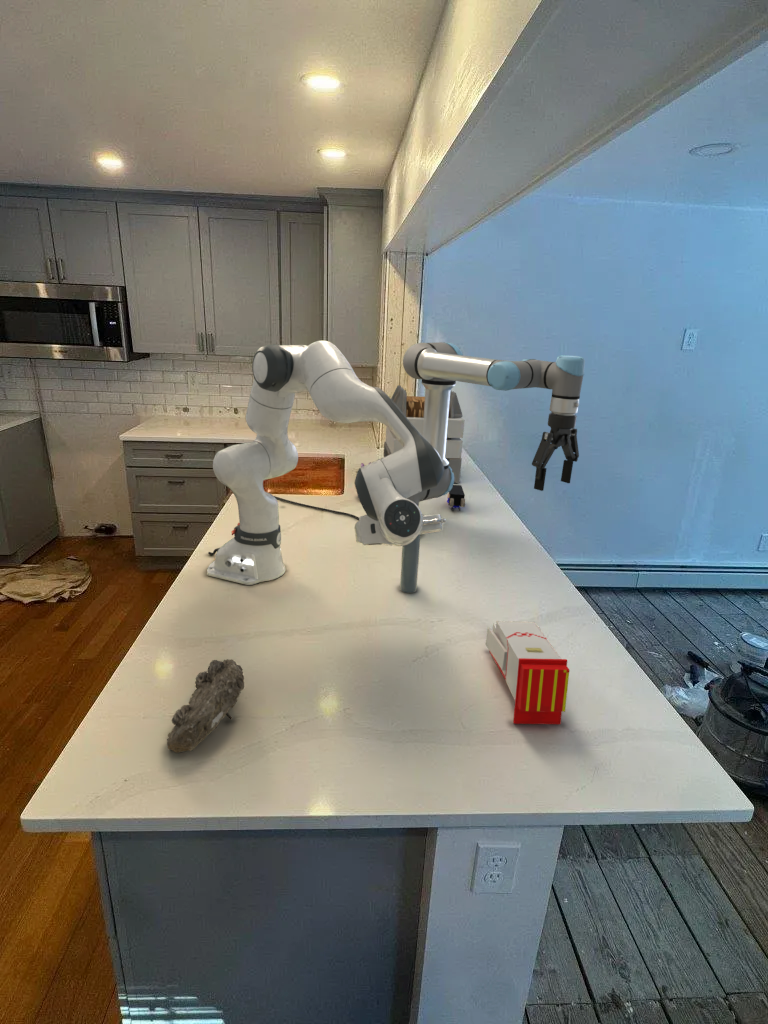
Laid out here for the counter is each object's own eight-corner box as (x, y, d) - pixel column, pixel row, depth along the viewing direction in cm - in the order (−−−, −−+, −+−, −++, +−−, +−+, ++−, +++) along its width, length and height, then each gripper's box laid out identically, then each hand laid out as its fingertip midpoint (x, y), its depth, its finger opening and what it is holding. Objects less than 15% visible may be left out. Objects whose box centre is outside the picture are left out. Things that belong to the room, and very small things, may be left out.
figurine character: (465, 515, 224) (460, 499, 237) (467, 498, 221) (462, 483, 234) (448, 515, 224) (444, 499, 237) (450, 498, 220) (445, 482, 234)
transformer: (382, 463, 289) (386, 382, 275) (445, 464, 293) (451, 384, 279) (390, 482, 257) (394, 392, 243) (460, 483, 261) (468, 394, 247)
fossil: (192, 660, 117) (244, 628, 112) (224, 691, 120) (276, 661, 115) (142, 746, 98) (202, 712, 93) (182, 779, 101) (242, 748, 96)
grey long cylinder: (397, 586, 162) (400, 524, 156) (412, 584, 164) (416, 522, 157) (404, 594, 158) (408, 530, 151) (419, 591, 160) (424, 528, 153)
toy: (532, 606, 134) (578, 666, 105) (527, 658, 137) (571, 730, 108) (481, 605, 134) (513, 664, 105) (478, 657, 137) (508, 730, 107)
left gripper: (444, 505, 124) (438, 512, 138) (351, 517, 123) (354, 523, 137) (449, 533, 123) (442, 538, 137) (355, 546, 123) (358, 549, 136)
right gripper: (548, 419, 148) (537, 496, 155) (598, 411, 163) (586, 482, 171) (525, 414, 153) (515, 489, 160) (575, 407, 169) (564, 476, 176)
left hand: (397, 530), depth 137 cm, fingers open, 8 cm apart
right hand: (552, 485), depth 166 cm, fingers open, 13 cm apart
